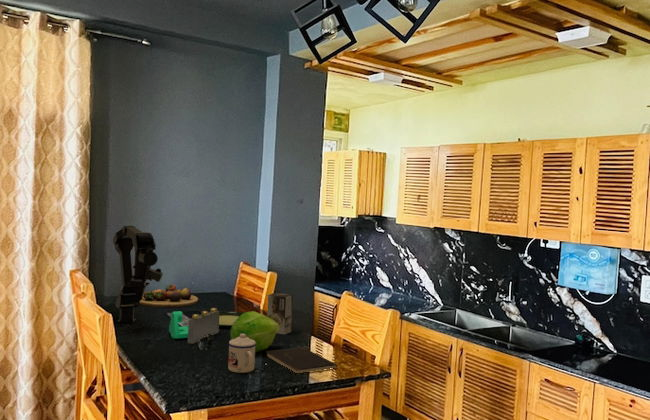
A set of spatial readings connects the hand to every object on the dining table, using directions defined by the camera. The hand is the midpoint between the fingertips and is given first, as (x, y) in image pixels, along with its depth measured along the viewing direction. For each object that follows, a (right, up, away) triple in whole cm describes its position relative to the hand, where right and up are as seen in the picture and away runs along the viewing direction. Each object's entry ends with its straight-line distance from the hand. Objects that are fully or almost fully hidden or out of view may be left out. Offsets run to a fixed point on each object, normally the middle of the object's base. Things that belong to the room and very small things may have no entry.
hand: (140, 300), depth 228 cm
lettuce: (+50, -15, -22) cm, 57 cm away
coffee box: (+57, -15, +9) cm, 59 cm away
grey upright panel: (+28, -14, -7) cm, 32 cm away
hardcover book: (+68, -17, -34) cm, 78 cm away
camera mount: (+19, -14, -7) cm, 24 cm away
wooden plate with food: (-6, -11, +61) cm, 62 cm away
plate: (+33, -14, +22) cm, 42 cm away
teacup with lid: (+49, -16, -46) cm, 69 cm away
